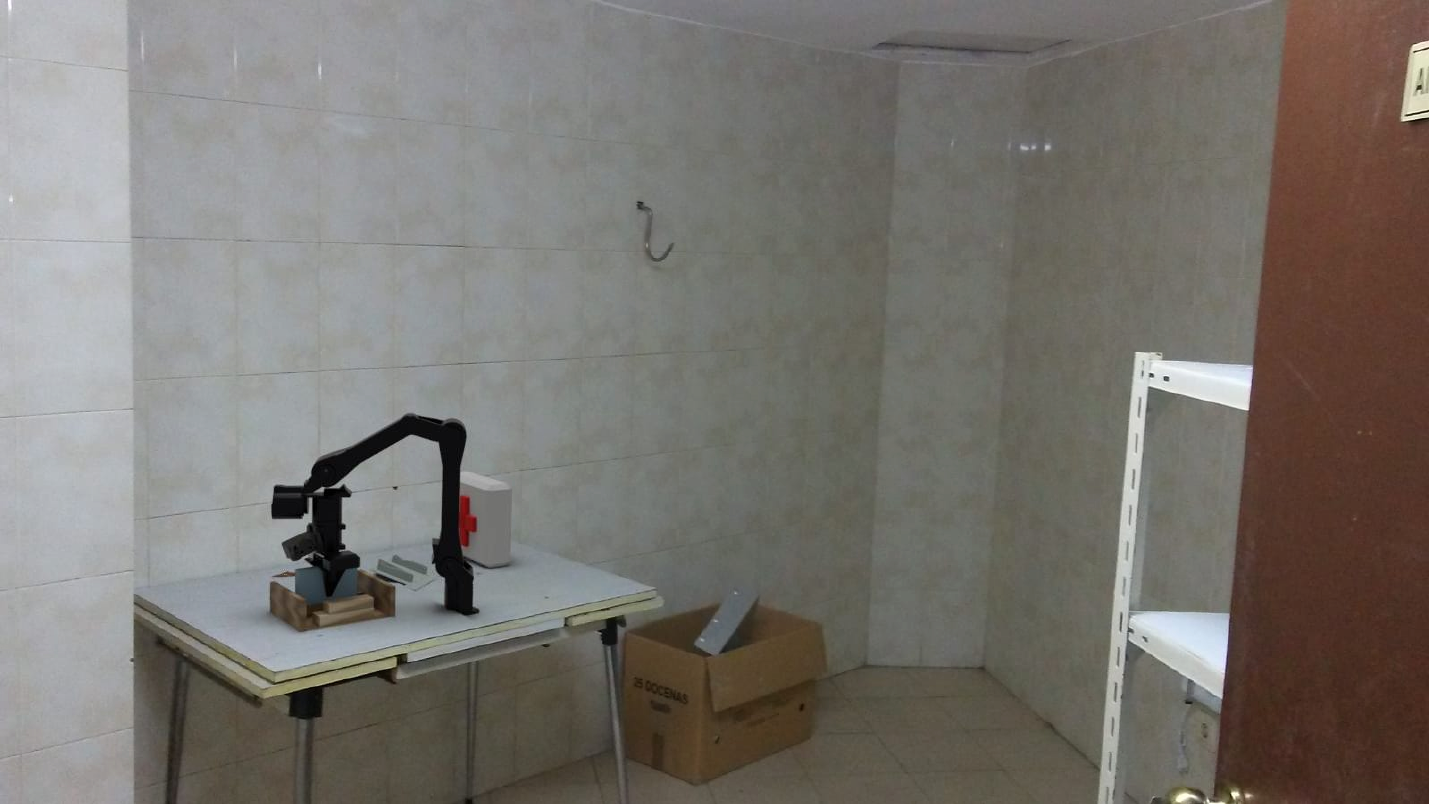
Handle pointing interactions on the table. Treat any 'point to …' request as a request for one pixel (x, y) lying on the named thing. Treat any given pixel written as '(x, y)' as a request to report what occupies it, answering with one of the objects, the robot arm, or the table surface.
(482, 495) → the bevelled white case
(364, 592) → the rack
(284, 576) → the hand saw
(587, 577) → the table surface
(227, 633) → the table surface
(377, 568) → the metal bracket
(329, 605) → the upper offcut
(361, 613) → the lower offcut
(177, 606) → the table surface
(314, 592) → the panel
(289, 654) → the table surface
